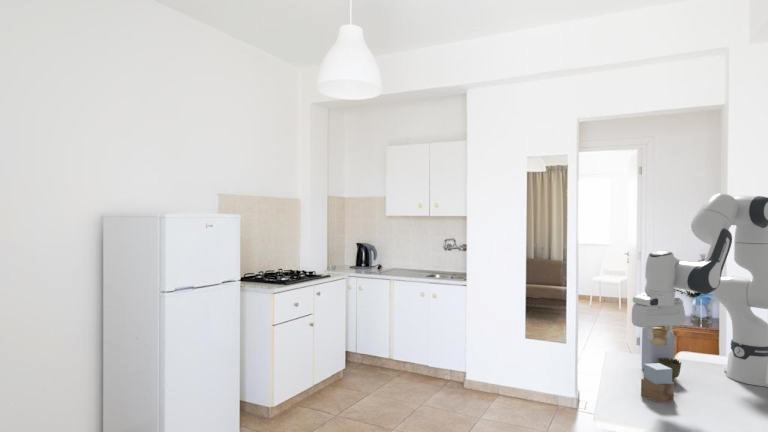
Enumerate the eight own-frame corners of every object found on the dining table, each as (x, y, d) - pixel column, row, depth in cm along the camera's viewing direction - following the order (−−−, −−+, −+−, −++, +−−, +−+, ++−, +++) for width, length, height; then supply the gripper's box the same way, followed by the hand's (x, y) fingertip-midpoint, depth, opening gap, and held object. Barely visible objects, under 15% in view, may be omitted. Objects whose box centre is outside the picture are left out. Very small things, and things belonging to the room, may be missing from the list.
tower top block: (658, 377, 163) (659, 363, 163) (672, 383, 157) (672, 368, 157) (643, 378, 162) (643, 363, 162) (656, 384, 156) (656, 369, 156)
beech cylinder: (657, 340, 162) (658, 326, 162) (670, 344, 158) (670, 330, 158) (646, 341, 161) (646, 327, 161) (659, 345, 156) (659, 331, 156)
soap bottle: (639, 367, 190) (641, 306, 190) (662, 368, 190) (663, 307, 189) (651, 375, 181) (653, 311, 181) (675, 376, 181) (676, 312, 180)
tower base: (653, 392, 164) (654, 375, 164) (673, 400, 158) (673, 382, 158) (640, 395, 161) (641, 378, 161) (660, 403, 155) (660, 385, 155)
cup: (684, 385, 171) (684, 364, 171) (662, 383, 173) (662, 362, 173) (675, 378, 179) (676, 357, 178) (654, 376, 180) (655, 356, 180)
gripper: (674, 295, 165) (673, 334, 165) (628, 297, 159) (627, 337, 159) (690, 299, 159) (689, 339, 159) (644, 301, 153) (642, 342, 153)
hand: (658, 338), depth 159 cm, fingers closed on beech cylinder, 5 cm apart
